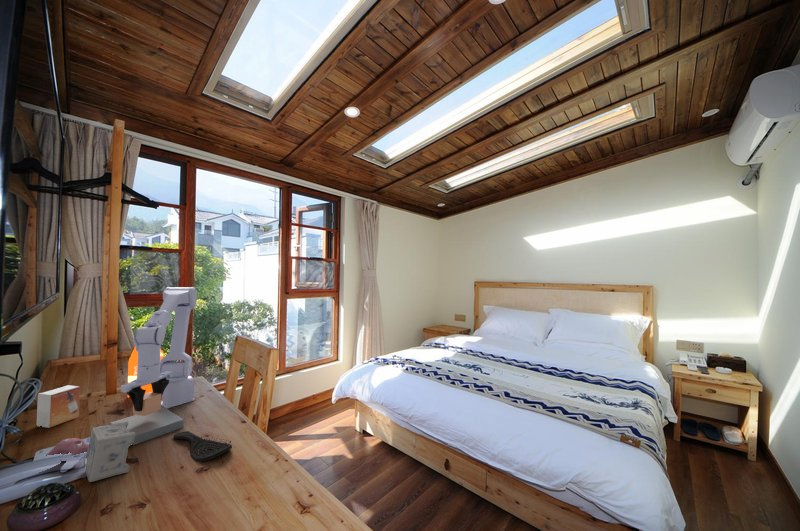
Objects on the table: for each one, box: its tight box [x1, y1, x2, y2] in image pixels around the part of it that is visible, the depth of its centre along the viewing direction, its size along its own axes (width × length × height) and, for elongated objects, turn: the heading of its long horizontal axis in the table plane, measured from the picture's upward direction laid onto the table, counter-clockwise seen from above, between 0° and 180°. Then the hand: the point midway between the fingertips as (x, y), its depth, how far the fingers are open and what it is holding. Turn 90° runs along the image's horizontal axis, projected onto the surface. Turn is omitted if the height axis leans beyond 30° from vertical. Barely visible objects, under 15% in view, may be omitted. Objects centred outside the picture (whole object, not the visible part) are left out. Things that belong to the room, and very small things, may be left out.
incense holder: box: [85, 422, 135, 483], centre depth 79 cm, size 10×8×10 cm
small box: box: [36, 384, 81, 429], centre depth 103 cm, size 8×6×10 cm
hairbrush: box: [172, 430, 233, 463], centre depth 90 cm, size 8×4×25 cm
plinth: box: [109, 406, 184, 446], centre depth 99 cm, size 14×16×2 cm
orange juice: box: [127, 345, 165, 399], centre depth 126 cm, size 8×9×20 cm
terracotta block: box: [132, 392, 162, 416], centre depth 99 cm, size 5×5×5 cm
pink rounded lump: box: [45, 437, 89, 456], centre depth 81 cm, size 10×5×7 cm, turn 72°
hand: (147, 406), depth 99 cm, fingers closed on terracotta block, 5 cm apart
